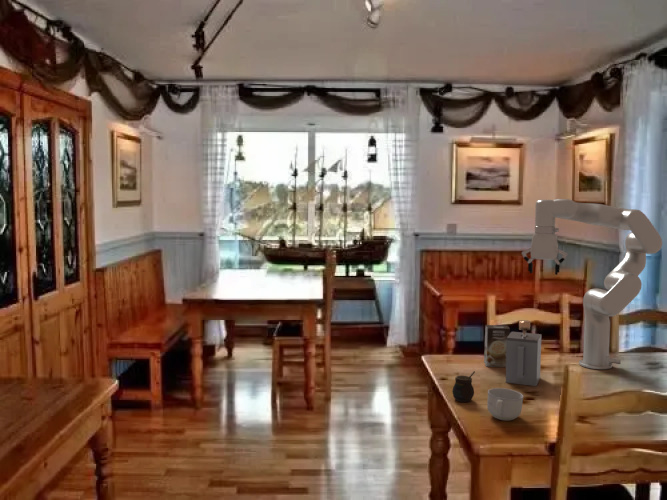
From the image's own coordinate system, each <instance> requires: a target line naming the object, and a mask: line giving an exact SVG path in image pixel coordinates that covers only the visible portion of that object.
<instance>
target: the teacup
mask: <svg viewBox="0 0 667 500" xmlns="http://www.w3.org/2000/svg"><path fill="white" fill-rule="evenodd" d="M523 400H524V395H523V394H522V393H521V392H520V391H517V390H514V389H511V388H503V387H495V388H489V389H488V390H487V401H486V402H487V403H486V404H487V411H488V413H490V414H491V415H492V417H493V418H494V419H497V420H501V421H506V422H507V421H509V422H510V421H513V420H515V419H516V418H518V417H520V415H521V413H522V408H523V402H524V401H523Z"/></svg>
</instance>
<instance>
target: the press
mask: <svg viewBox="0 0 667 500" xmlns="http://www.w3.org/2000/svg"><path fill="white" fill-rule="evenodd" d="M541 356H542V334H541V333H540V334H539V333H533V332H532V333H531V332H526V337H523V332H519V331H510V334H509V336H508V337H507V351H506V367H505V383H508V384H515V385H524V386H532V387H537V386H538V383H539V381H540V380H541V366H542V365H541V362H542V359H541V358H542V357H541Z"/></svg>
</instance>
